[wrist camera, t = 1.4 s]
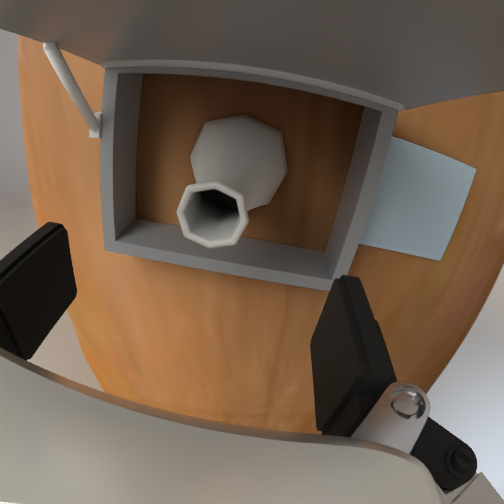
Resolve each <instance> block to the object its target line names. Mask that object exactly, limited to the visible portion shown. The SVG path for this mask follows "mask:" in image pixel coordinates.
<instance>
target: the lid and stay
mask: <svg viewBox="0 0 504 504" xmlns="http://www.w3.org/2000/svg"><path fill="white" fill-rule="evenodd" d="M0 29H3V30H6V31H9V32H13V33H16V34H19V35H22V36H25V37H28V38H31V39H34V40H37V41H40V42H43V43H44V45H43V49H44V51H45V53H46V55H47V57H48V59H49V60H50V62H51V64H52V66H53V68H54V69H55V71H56V73H57V75H58V76H59V78H60V80H61V82H62V83H63V85H64V87H65V88H66V90H67V92H68V94H69V95H70V97H71V99H72V100H73V102H74V104H75V105H76V107H77V108H78V110H79V112H80V113H81V115H82V117H83V118H84V120H85V121H86V123H87V125H88V126H89V128H90V133H89V137H94V138H100V137H101V115H102V112H96V113H93V111H92V110H91V108H90V106H89V104H88V102H87V101H86V99H85V97H84V95H83V93H82V92H81V90H80V88H79V86H78V84H77V82H76V80H75V79H74V77H73V75H72V73H71V71H70V69H69V67H68V65H67V63H66V61H65V59H64V57H63V55H62V53H61V51H60V49H62V50H64V51H67V52H69V53H72V54H74V55H77V56H79V57H82V58H84V59H87V60H89V61H92V62H94V63H96V64H99V65H100V62H103V61H120V60H185V61H202V62H214V63H225V64H234V65H242V66H250V67H257V68H263V69H270V70H276V71H281V72H287V73H292V74H297V75H302V76H306V77H311V78H315V79H319V80H324V81H328V82H332V83H335V84H339V85H343V86H347V87H350V88H354V89H357V90H361V91H364V92H367V93H370V94H373V95H377V96H380V97H383V98H386V99H388V100H391V101H394V102H397V103H400V104H403V105H405V106H404V108H405V109H410V108H414V107H419V106H423V105H428V104H432V103H437V102H442V101H447V100H452V99H457V98H462V97H468V96H473V95H479V94H486V93H492V92H499V91H504V0H0Z"/></svg>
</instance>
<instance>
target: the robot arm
mask: <svg viewBox="0 0 504 504" xmlns="http://www.w3.org/2000/svg"><path fill="white" fill-rule="evenodd" d="M76 294H77V288H76V283H75V277H74V272H73V266H72V260H71V254H70V247H69V240H68V233H67V230H66V229H65V228H64V226H63V225H62V224H59V223H54V222H48V223H46V224H45V225H44V226H42V227H41V228H40V229H38V230H37V231H36V232H34V233H33V234H32V235H31V236H29V237H28V238H27V239H26V240H24V241H23V242H22V243H21V244H19V245H18V246H17V247H16V248H15V249H13V250H12V251H11V252H10V253H9V254H7V255H6V256H5V257H4V258H3V259H2V260H0V504H504V500H503V499H502V498H501V497H500V495H499V494H498V493H497V491H496V490H495V489H494V487H493V486H492V485H491V483H490V482H489V481H488V480H487V479H486V477H485V476H484V475H483V473H482V472H481V473H479V474H477V473H476V469H477V459H476V456H475V454H474V452H473V450H472V449H471V448H470V447H469V446H468V445H467V444H466V443H464V442H463V441H461V440H460V439H459V438H457V437H456V436H454V435H453V434H452V433H450V432H449V431H448V430H446V429H445V428H443V427H442V426H441V425H439V424H438V423H437V422H435V421H434V420H432V419H431V418H430V417H428V416H429V413H430V402H429V400H428V397H427V396H426V394H425V393H424V392H423V390H421V389H420V388H419V387H418V386H416V385H414V384H412V383H410V382H405V381H397V379H396V376H395V373H394V369H393V366H392V363H391V360H390V357H389V353H388V350H387V347H386V344H385V341H384V338H383V335H382V332H381V330H380V327H379V324H378V322H377V321H376V320H375V319H374V316H373V313H372V310H371V308H370V305H369V302H368V299H367V297H366V294H365V291H364V288H363V286H362V283H361V281H360V279H359V278H358V277H353V276H347V275H341V277H340V279H338V278H335V279H334V281H333V284H332V287H331V289H330V292H329V295H328V297H327V300H326V303H325V305H324V308H323V311H322V313H321V316H320V318H319V321H318V323H317V326H316V328H315V331H314V333H313V336H312V339H311V345H310V348H311V360H312V372H313V384H314V398H315V413H316V427H317V430H318V431H322V435H319V434H310V433H297V432H287V431H278V430H269V429H262V428H254V427H248V426H241V425H234V424H228V423H222V422H217V421H211V420H206V419H201V418H196V417H192V416H187V415H183V414H178V413H174V412H170V411H166V410H162V409H158V408H154V407H151V406H147V405H143V404H140V403H136V402H133V401H130V400H126V399H123V398H120V397H117V396H114V395H111V394H108V393H105V392H102V391H99V390H96V389H93V388H90V387H88V386H85V385H82V384H79V383H77V382H75V381H72V380H69V379H67V378H64V377H62V376H60V375H57V374H55V373H52V372H50V371H48V370H46V369H43V368H41V367H39V366H37V365H34V364H32V363H30V362H28V361H27V360H28V359H31V358H32V356H33V355H34V353H35V352H36V350H37V349H38V348H39V346H40V345H41V343H42V342H43V340H44V339H45V337H46V336H47V335H48V333H49V332H50V331H51V329H52V328H53V327H54V325H55V324H56V323H57V321H58V320H59V319H60V317H61V316H62V315H63V313H64V312H65V311H66V309H67V308H68V307H69V305H70V304H71V303H72V302H73V300H74V299H75V297H76Z"/></svg>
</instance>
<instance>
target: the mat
mask: <svg viewBox="0 0 504 504" xmlns="http://www.w3.org/2000/svg"><path fill="white" fill-rule="evenodd" d="M475 172H476V169H475V168H473V167H471V166H469V165H466V164H464V163H462V162H460V161H457V160H455V159H453V158H450V157H448V156H445V155H443V154H440V153H438V152H435V151H433V150H430V149H427V148H425V147H422V146H419V145H417V144H414V143H411V142H408V141H405V140H402V139H399V138H397V137H393V136H392V138H391V142H390V146H389V150H388V153H387V157H386V160H385V164H384V167H383V171H382V174H381V178H380V181H379V184H378V188H377V191H376V194H375V197H374V200H373V203H372V207H371V210H370V213H369V216H368V219H367V222H366V225H365V228H364V230H363V233H362V236H361V239H360V242H359V244H363V245H368V246H373V247H377V248H382V249H387V250H392V251H396V252H401V253H406V254H410V255H415V256H420V257H424V258H429V259H433V260H438V261H440V260H441V258H442V256H443V254H444V252H445V250H446V247H447V245H448V243H449V241H450V238H451V236H452V234H453V231H454V229H455V227H456V224H457V222H458V219H459V217H460V214H461V212H462V209H463V206H464V204H465V201H466V198H467V196H468V193H469V190H470V187H471V184H472V181H473V178H474V175H475Z"/></svg>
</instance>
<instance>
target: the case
mask: <svg viewBox="0 0 504 504" xmlns="http://www.w3.org/2000/svg"><path fill="white" fill-rule="evenodd" d="M100 64H101V66H102V67H103V68H105V76H104V87H103V99H102V115H101V143H100V174H101V203H102V220H103V233H104V244H105V250H106V251H111V252H116V253H121V254H126V255H130V256H135V257H140V258H145V259H151V260H156V261H161V262H166V263H171V264H176V265H182V266H187V267H192V268H198V269H203V270H208V271H214V272H219V273H225V274H230V275H236V276H242V277H247V278H253V279H259V280H265V281H270V282H276V283H282V284H288V285H294V286H300V287H306V288H313V289H319V290H325V291H330V289H331V287H332V284H333V281H334V279H335V278H338V279H340V277H341V275H347V274H348V272H349V269H350V266H351V264H352V261H353V258H354V256H355V253H356V250H357V247H358V245H359V242H360V239H361V236H362V233H363V230H364V228H365V225H366V222H367V219H368V216H369V213H370V210H371V207H372V203H373V200H374V197H375V194H376V191H377V188H378V184H379V181H380V178H381V174H382V171H383V167H384V164H385V160H386V157H387V153H388V150H389V146H390V142H391V138H392V134H393V130H394V126H395V122H396V118H397V114H398V110H399V111H401V110H402V109H403V108H404V106H405V105H403V104H400V103H397V102H394V101H391V100H388V99H386V98H383V97H380V96H377V95H373V94H370V93H367V92H364V91H361V90H357V89H354V88H350V87H347V86H343V85H339V84H335V83H332V82H328V81H324V80H319V79H315V78H311V77H306V76H302V75H297V74H292V73H287V72H281V71H276V70H270V69H263V68H257V67H250V66H242V65H234V64H225V63H214V62H202V61H185V60H120V61H103V62H100ZM143 74H176V75H193V76H205V77H216V78H226V79H234V80H242V81H249V82H256V83H262V84H268V85H274V86H280V87H285V88H290V89H295V90H300V91H305V92H309V93H314V94H318V95H322V96H326V97H330V98H334V99H338V100H342V101H346V102H349V103H353V104H356V105H360V106H363V107H364V109H363V114H362V118H361V122H360V127H359V131H358V135H357V139H356V143H355V147H354V151H353V155H352V159H351V163H350V166H349V170H348V174H347V178H346V181H345V185H344V189H343V192H342V196H341V199H340V203H339V206H338V210H337V213H336V216H335V220H334V223H333V227H332V230H331V233H330V236H329V240H328V243H327V246H326V249H325V252H324V251H319V250H313V249H308V248H302V247H297V246H291V245H286V244H280V243H275V242H269V241H264V240H258V239H252V238H247V237H240V239H239V240H238V242H237V244H236V245H234V246H226V247H218V248H210V249H209V248H207V247H204V246H202V245H200V244H198V243H196V242H194V241H192V240H189V239H187V238H185V237H184V235H183V232H182V229H181V226H177V225H171V224H166V223H160V222H154V221H148V220H141V219H136V160H137V139H138V123H139V111H140V100H141V90H142V81H143Z"/></svg>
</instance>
